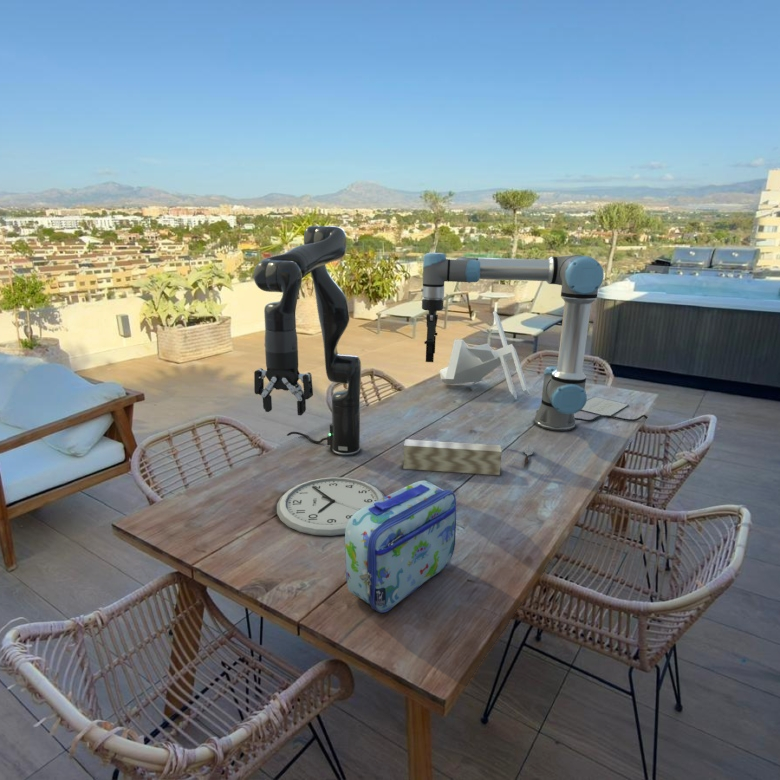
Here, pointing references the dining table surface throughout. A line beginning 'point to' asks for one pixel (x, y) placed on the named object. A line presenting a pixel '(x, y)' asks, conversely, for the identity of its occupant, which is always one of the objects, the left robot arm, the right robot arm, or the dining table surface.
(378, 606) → the lunch box
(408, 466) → the plank
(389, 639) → the dining table surface
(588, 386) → the dining table surface
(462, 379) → the white plastic object
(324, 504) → the wall clock
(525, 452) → the fork
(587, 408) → the invitation card
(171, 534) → the dining table surface
